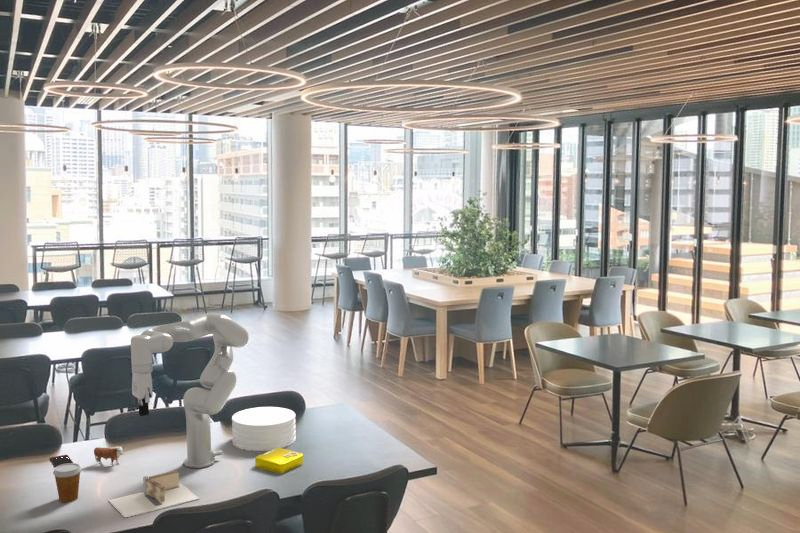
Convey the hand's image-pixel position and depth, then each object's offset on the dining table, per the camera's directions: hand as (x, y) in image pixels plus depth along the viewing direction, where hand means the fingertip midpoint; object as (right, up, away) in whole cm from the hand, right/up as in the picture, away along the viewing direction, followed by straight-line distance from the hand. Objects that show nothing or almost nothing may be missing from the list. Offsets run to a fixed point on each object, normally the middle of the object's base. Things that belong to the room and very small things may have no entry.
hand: (143, 414), depth 301 cm
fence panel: (+9, -28, -13) cm, 32 cm away
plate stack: (+37, -22, +53) cm, 68 cm away
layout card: (+8, -29, -13) cm, 33 cm away
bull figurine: (-21, -25, +22) cm, 39 cm away
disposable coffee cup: (-24, -29, -12) cm, 39 cm away
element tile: (+48, -25, +23) cm, 59 cm away
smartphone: (-42, -25, +25) cm, 55 cm away
